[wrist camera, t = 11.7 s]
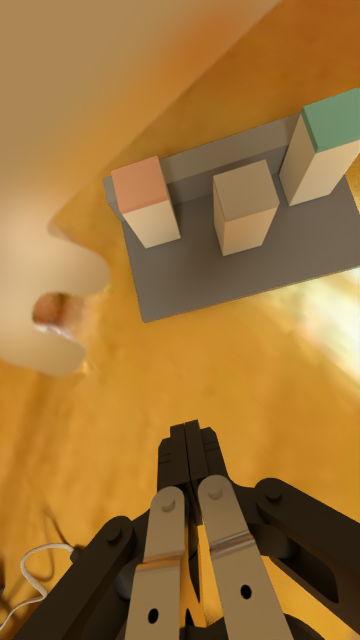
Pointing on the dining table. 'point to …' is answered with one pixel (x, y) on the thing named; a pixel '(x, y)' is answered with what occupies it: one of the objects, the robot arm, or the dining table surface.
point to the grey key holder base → (249, 265)
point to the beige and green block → (321, 147)
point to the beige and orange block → (146, 202)
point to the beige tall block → (243, 206)
